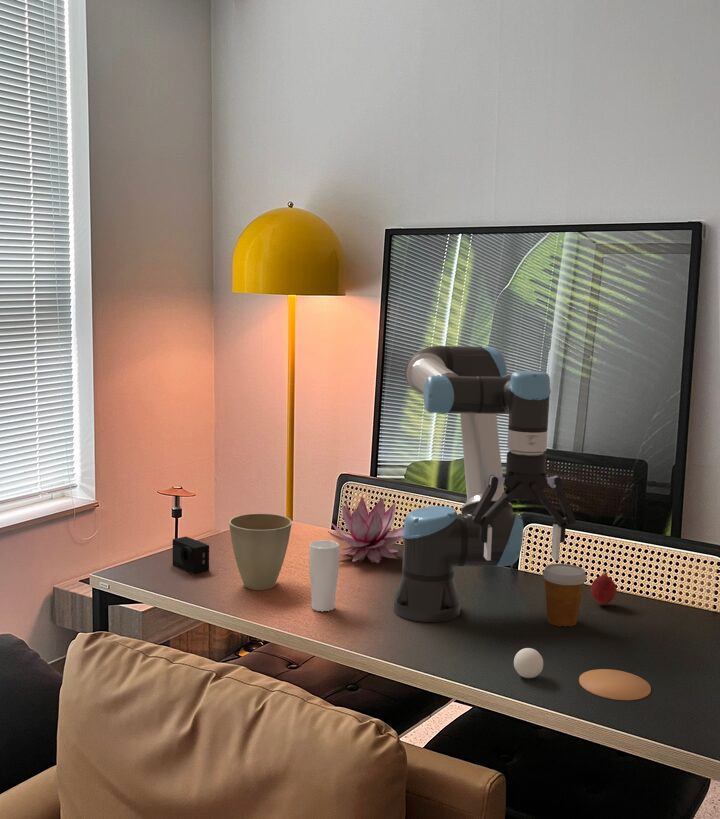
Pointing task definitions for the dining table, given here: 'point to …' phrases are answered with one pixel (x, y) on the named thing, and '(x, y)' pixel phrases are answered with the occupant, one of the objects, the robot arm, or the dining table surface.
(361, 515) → the decorative flower
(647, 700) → the dining table surface
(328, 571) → the drinking glass
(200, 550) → the digital camera
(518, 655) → the ball
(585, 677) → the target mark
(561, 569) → the disposable coffee cup
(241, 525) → the plant pot
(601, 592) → the red bumpy oval piece
